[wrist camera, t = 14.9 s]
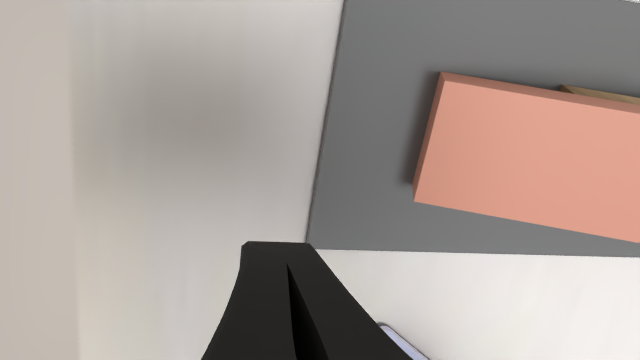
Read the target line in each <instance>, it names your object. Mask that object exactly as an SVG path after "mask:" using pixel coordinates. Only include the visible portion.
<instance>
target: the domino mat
mask: <svg viewBox="0 0 640 360" xmlns="http://www.w3.org/2000/svg"><path fill="white" fill-rule="evenodd" d="M440 71H442V72H448V73H454V74H459V75H465V76H471V77H477V78H483V79H489V80H495V81H501V82H506V83H512V84H518V85H524V86H530V87H536V88H542V89H548V90H553V91H560V88H561V86H562V85H568V86H574V87H579V88H585V89H591V90H597V91H602V92H608V93H614V94H619V95H625V96H631V97H637V98H640V3H634V2H628V1H622V0H345V3H344V9H343V15H342V21H341V27H340V34H339V40H338V46H337V52H336V58H335V65H334V71H333V77H332V83H331V89H330V96H329V102H328V108H327V114H326V120H325V127H324V133H323V139H322V145H321V151H320V157H319V164H318V170H317V176H316V182H315V188H314V195H313V201H312V207H311V213H310V219H309V226H308V232H307V238H306V243H310V244H311V245H312V247H313V248H314V249H333V250H371V251H410V252H448V253H487V254H525V255H564V256H602V257H640V242H639V243H636V242H631V241H626V240H620V239H615V238H609V237H604V236H598V235H593V234H588V233H582V232H577V231H571V230H566V229H560V228H555V227H550V226H544V225H539V224H533V223H528V222H522V221H517V220H512V219H506V218H501V217H495V216H490V215H484V214H479V213H474V212H468V211H463V210H457V209H452V208H446V207H441V206H436V205H430V204H425V203H419V202H414V199H413V190H412V182H413V179H414V175H415V171H416V167H417V163H418V159H419V155H420V151H421V147H422V143H423V139H424V135H425V131H426V127H427V123H428V119H429V115H430V111H431V107H432V103H433V99H434V95H435V91H436V87H437V83H438V79H439V75H440Z"/></svg>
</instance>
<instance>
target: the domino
mask: <svg viewBox="0 0 640 360" xmlns="http://www.w3.org/2000/svg"><path fill="white" fill-rule="evenodd" d="M412 190H413V199H414V202H419V203H425V204H430V205H436V206H441V207H446V208H452V209H457V210H463V211H468V212H474V213H479V214H484V215H490V216H495V217H501V218H506V219H512V220H517V221H522V222H528V223H533V224H539V225H544V226H550V227H555V228H560V229H566V230H571V231H577V232H582V233H588V234H593V235H598V236H604V237H609V238H615V239H620V240H626V241H631V242H636V243H639V242H640V105H636V104H630V103H624V102H618V101H612V100H606V99H600V98H595V97H589V96H583V95H577V94H571V93H565V92H559V91H553V90H548V89H542V88H536V87H530V86H524V85H518V84H512V83H506V82H501V81H495V80H489V79H483V78H477V77H471V76H465V75H459V74H454V73H448V72H442V71H440V75H439V79H438V83H437V87H436V91H435V95H434V99H433V103H432V107H431V111H430V115H429V119H428V123H427V127H426V131H425V135H424V139H423V143H422V147H421V151H420V155H419V159H418V163H417V167H416V171H415V175H414V179H413V182H412Z"/></svg>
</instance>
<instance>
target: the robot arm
mask: <svg viewBox="0 0 640 360" xmlns="http://www.w3.org/2000/svg"><path fill="white" fill-rule="evenodd" d="M201 360H428V359H427V358H426V357H425V356H423V355H422V354H421V353H420V352H419V351H417V350H416V349H415V348H414V347H412V346H411V345H410V344H409V343H408V342H406V341H405V340H404V339H403V338H401V337H400V336H399V335H398V334H397V333H395V332H394V331H393V330H392V329H390V328H389V327H387V326H379V325H378V324H377V323H376V322H375V321H374V320H373V319H372V318H371V317H370V316H369V315H368V313H367V312H366V311H365V310H364V309H363V308H362V307H361V305H360V304H359V303H358V302H357V301H356V300H355V299H354V297H353V296H352V295H351V294H350V293H349V292H348V290H347V289H346V288H345V287H344V286H343V284H342V283H341V282H340V281H339V279H338V278H337V277H336V276H335V274H334V273H333V272H332V271H331V269H330V268H329V267H328V266H327V264H326V263H325V262H324V260H323V259H322V258H321V257H320V255H319V254H318V253H317V252H316V250H315V249H314V248H313V247H312V245H311V244H310V243H292V242H257V241H248V242H246V243H245V244H244V245H242V248H241V259H240V269H239V273H238V276H237V280H236V283H235V286H234V289H233V291H232V294H231V297H230V299H229V302H228V305H227V307H226V310H225V312H224V314H223V317H222V319H221V321H220V323H219V325H218V327H217V329H216V331H215V333H214V335H213V338H212V340H211V342H210V344H209V346H208V348H207V350H206V352H205V353H204V355H203V357H202V359H201Z"/></svg>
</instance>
